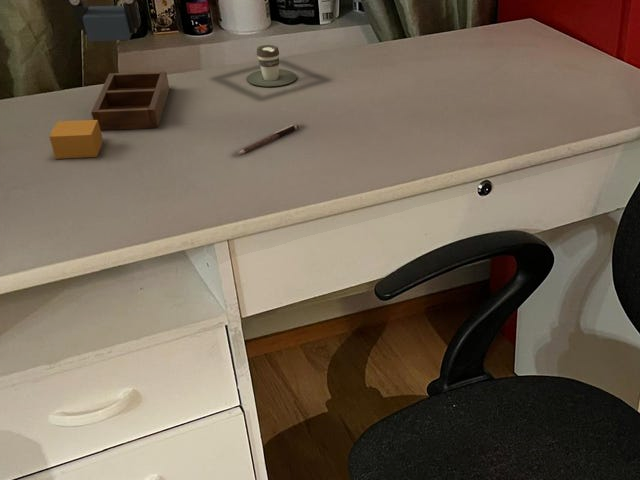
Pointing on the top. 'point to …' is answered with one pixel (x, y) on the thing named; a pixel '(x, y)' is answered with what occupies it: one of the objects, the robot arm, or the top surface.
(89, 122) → the orange block
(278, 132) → the pen
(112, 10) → the pad grey
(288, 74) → the coffee cup
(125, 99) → the back frame
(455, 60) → the top surface
